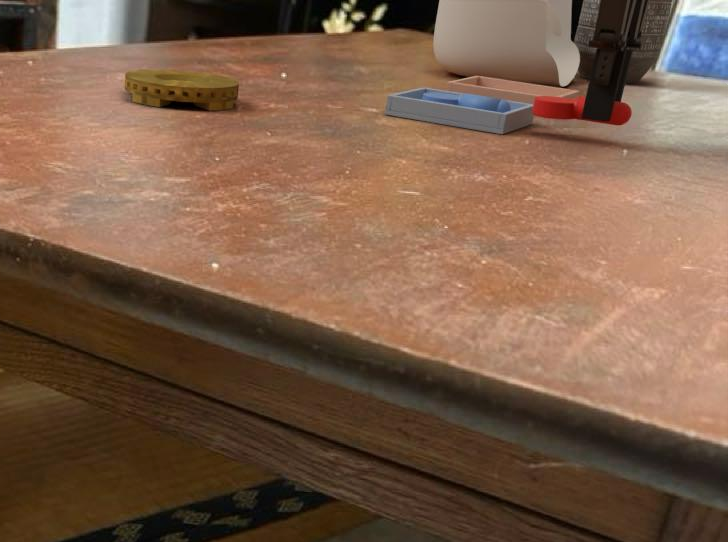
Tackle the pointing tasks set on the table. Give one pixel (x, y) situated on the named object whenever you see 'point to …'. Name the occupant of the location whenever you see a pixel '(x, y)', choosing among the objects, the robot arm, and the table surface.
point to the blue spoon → (470, 101)
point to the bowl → (507, 40)
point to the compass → (181, 88)
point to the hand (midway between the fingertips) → (599, 117)
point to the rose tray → (507, 89)
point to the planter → (640, 57)
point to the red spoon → (576, 109)
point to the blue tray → (457, 112)
